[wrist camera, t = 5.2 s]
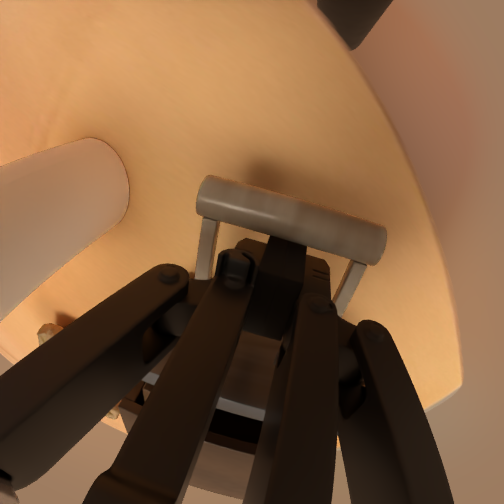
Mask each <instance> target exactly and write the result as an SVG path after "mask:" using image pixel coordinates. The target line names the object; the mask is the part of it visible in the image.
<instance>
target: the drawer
mask: <svg viewBox="0 0 504 504" xmlns="http://www.w3.org/2000/svg"><path fill="white" fill-rule="evenodd" d="M196 212H197V214H198V215H200V216H203V220H202V227H201V234H200V240H199V248H198V255H197V262H196V270H195V278H194V279H198V280H207V279H210V278H211V272H212V266H213V260H214V254H215V249H216V243H217V237H218V232H219V226H220V221H221V222H225V223H229V224H232V225H236V226H239V227H243V228H246V229H250V230H253V231H257V232H260V233H264V234H267V235H270V236H274V237H277V238H281V239H284V240H288V241H291V242H294V243H298V244H301V245H304V246H308V247H311V248H314V249H318V250H321V251H324V252H328V253H331V254H334V255H338V256H341V257H344V258H347V259H351V260H350V262H349V264H348V267H347V269H346V271H345V273H344V276H343V278H342V280H341V282H340V284H339V287H338V289H337V291H336V293H335V295H334V297H333V299H332V302H333V303H334V304H335V305H336V308H337V315H338V316H340V317H342V315H343V313H344V312H345V310H346V308H347V306H348V304H349V302H350V300H351V298H352V296H353V294H354V292H355V290H356V288H357V286H358V284H359V282H360V280H361V278H362V276H363V274H364V271H365V269H366V267H367V265H370V266H375V265H376V264H377V263H378V262H379V261H380V259H381V257H382V255H383V253H384V250H385V246H386V241H387V230H386V228H385V227H384V226H382V225H379V224H376V223H373V222H371V221H368V220H365V219H362V218H359V217H356V216H353V215H350V214H347V213H344V212H340V211H337V210H334V209H331V208H328V207H325V206H321V205H318V204H315V203H312V202H308V201H305V200H302V199H298V198H295V197H291V196H288V195H285V194H281V193H278V192H274V191H270V190H267V189H263V188H259V187H256V186H252V185H248V184H244V183H241V182H237V181H233V180H229V179H225V178H221V177H217V176H213V175H208V176H206V177H205V179H204V180H203V182H202V184H201V186H200V189H199V192H198V195H197V200H196ZM366 264H367V265H366ZM282 340H283V337H282V339H281V341H277V340H274V339H270V338H267V337H263V336H260V335H256V334H253V333H249V332H246V331H243V330H242V332H241V335H240V339H239V342H238V345H237V348H236V351H235V354H234V357H233V360H232V363H231V366H230V369H229V372H228V375H227V377H226V380H225V383H224V386H223V389H222V392H221V395H220V398H219V401H218V403H217V406H216V409H215V412H214V415H213V418H212V421H211V423H210V426H209V429H208V431H210V432H213V433H216V434H220V435H223V436H226V437H230V438H233V439H237V440H241V441H245V442H248V443H252V444H257V445H258V441H259V437H260V433H261V428H262V424H263V420H264V415H265V411H266V406H267V402H268V397H269V393H270V388H271V383H272V378H273V374H274V369H275V365H273V362H274V359H275V357H276V355H277V353H278V350H279V348H280V346H281V343H282ZM174 348H175V347H174ZM174 348H173V349H174ZM173 349H172V350H171V351H170V352H169V353H168V354H167V355H166V356H165V357H164V358H163V359H162V360H161V361H160V362H159V363H158V364H157V365H156V366H155V367H154V368H153V369H152V370H151V371H150V372H149V373H148V374H147V375H146V376H145V377H144V378H143V379H142V380H143V381H145V382H146V383H145V385H144V387H143V395H144V401H146V399H147V398H148V396H149V394H150V392H151V390H152V388H153V386H154V384H155V383H156V381H157V379H158V377H159V375H160V373H161V371H162V370H163V368H164V366H165V364H166V362H167V360H168V359H169V357H170V355H171V353H172V351H173ZM337 435H338V432H337Z"/></svg>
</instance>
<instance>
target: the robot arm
mask: <svg viewBox="0 0 504 504" xmlns="http://www.w3.org/2000/svg"><path fill="white" fill-rule="evenodd" d="M306 252H307V246H304V245H301V244H298V243H294V242H291V241H288V240H284V239H281V238H277V237H274V236H270V237H269V240H268V243H267V244H266V243H262V242H259V241H255V240H252V239H248V238H245V239H243V240H241V241H239V242H238V243H237V245H236V247H235V249H227V250H223V251H222V252H220V253H219V254H218V260H217V266H216V271H215V276H214V278H212V279H207V280H198V279H189V273H188V272H187V270H185V269H184V268H183V267H181V266H178V265H175V264H160V265H157V266H155V267H153V268H152V269H150V270H149V271H147V272H145V273H144V274H142V275H141V276H139V277H138V278H136V279H135V280H133V281H132V282H130V283H129V284H127V285H126V286H124V287H123V288H121V289H120V290H118V291H117V292H115V293H114V294H113V295H111V296H110V297H108V298H107V299H105V300H104V301H102V302H101V303H99V304H98V305H96V306H95V307H94V308H92V309H91V310H89V311H88V312H86V313H85V314H84V315H82V316H81V317H79V318H78V319H76V320H75V321H74V322H72V323H71V324H69V325H68V326H67V327H65V328H64V329H62V330H61V331H60V332H58V333H57V334H55V335H54V336H53V337H51V338H50V339H49V340H47V341H46V342H45V343H43V344H42V345H40V346H39V347H38V348H36V349H35V350H34V351H32V352H31V353H30V354H28V355H27V356H26V357H24V358H23V359H22V360H20V361H19V362H18V363H16V364H15V365H14V366H13V367H11V368H10V369H9V370H7V371H6V372H5V373H4V374H2V375H1V376H0V504H19V499H18V497H17V495H16V494H15V491H16V490H19V489H22V488H24V487H26V486H28V485H30V484H31V483H33V482H35V481H36V480H38V479H39V478H40V477H41V476H42V475H44V474H45V473H46V472H47V471H48V470H49V469H50V468H51V467H53V466H54V465H55V464H56V463H57V462H58V461H59V460H60V459H61V458H62V457H63V456H64V455H65V454H66V453H67V452H68V451H69V450H70V449H71V448H72V447H73V446H74V445H75V444H76V443H77V442H79V440H81V439H82V438H83V437H84V436H85V435H86V434H87V433H88V432H89V431H90V430H91V429H92V428H93V427H94V426H95V425H96V424H97V423H98V422H99V421H100V420H101V419H102V418H103V417H104V416H105V415H106V414H107V413H108V412H109V411H110V410H111V409H113V408H114V407H115V406H116V405H117V404H118V403H119V402H120V401H121V400H122V399H123V398H124V397H125V396H126V395H127V394H128V393H129V392H130V391H131V390H132V389H133V388H134V387H135V386H136V385H137V384H138V383H139V382H140V381H141V380H142V379H143V378H144V377H145V376H146V375H147V374H148V373H149V372H150V371H151V370H152V369H153V368H154V367H155V366H156V365H157V364H158V363H159V362H160V361H161V360H162V359H163V358H164V357H165V356H166V355H167V354H168V353H169V352H170V351H171V350H172V349H173V348H174V347H175V348H174V349H173V351H172V353H171V355H170V357H169V359H168V360H167V362H166V364H165V366H164V368H163V370H162V371H161V373H160V375H159V377H158V379H157V381H156V383H155V384H154V386H153V388H152V390H151V392H150V394H149V396H148V398H147V399H146V401H145V403H144V405H143V407H142V409H141V411H140V413H139V415H138V416H137V418H136V420H135V422H134V424H133V426H132V428H131V430H130V432H129V434H128V436H127V438H126V439H125V441H124V444H123V445H122V447H121V449H120V451H119V453H118V455H117V457H116V459H115V461H114V463H113V464H112V466H111V467H110V468H109V469H108V470H107V471H105V472H103V473H102V474H100V475H99V476H98V477H97V479H96V480H95V481H94V483H93V484H92V486H91V488H90V490H89V491H88V493H87V495H86V497H85V499H84V501H83V503H82V504H182V501H183V498H184V496H185V493H186V490H187V487H188V485H189V482H190V479H191V477H192V474H193V471H194V468H195V465H196V463H197V460H198V457H199V454H200V452H201V449H202V446H203V443H204V440H205V438H206V435H207V432H208V429H209V426H210V423H211V421H212V418H213V415H214V412H215V409H216V406H217V403H218V401H219V398H220V395H221V392H222V389H223V386H224V383H225V380H226V377H227V375H228V372H229V369H230V366H231V363H232V360H233V357H234V354H235V351H236V348H237V345H238V342H239V339H240V335H241V332H242V330H243V331H246V332H249V333H253V334H256V335H260V336H263V337H267V338H270V339H274V340H277V341H281V339H282V337H283V340H282V343H281V346H280V348H279V350H278V353H277V355H276V357H275V359H274V362H273V365H275V369H274V374H273V378H272V383H271V388H270V393H269V397H268V402H267V406H266V411H265V415H264V420H263V424H262V428H261V433H260V437H259V441H258V445H257V449H256V453H255V457H254V461H253V465H252V469H251V473H250V477H249V481H248V485H247V489H246V492H245V496H244V500H243V504H331V501H332V492H333V483H334V472H335V459H336V445H337V432H338V437H339V441H340V446H341V451H342V456H343V461H344V466H345V472H346V477H347V482H348V488H349V494H350V499H351V504H454V501H453V497H452V494H451V490H450V486H449V483H448V479H447V476H446V473H445V470H444V466H443V463H442V460H441V457H440V454H439V451H438V448H437V445H436V442H435V440H434V437H433V434H432V431H431V428H430V426H429V423H428V420H427V418H426V415H425V413H424V410H423V407H422V405H421V402H420V400H419V397H418V395H417V393H416V390H415V388H414V385H413V383H412V381H411V378H410V376H409V374H408V371H407V369H406V367H405V365H404V362H403V360H402V358H401V356H400V354H399V351H398V349H397V347H396V345H395V343H394V341H393V339H392V336H391V334H390V333H389V331H388V330H387V329H386V328H385V327H384V326H383V325H381V324H380V323H378V322H376V321H372V320H362V321H361V322H359V323H358V325H357V326H355V325H353V324H351V323H349V322H347V321H345V320H344V319H342V318H341V317H340V316H338V315H337V308H336V305H335V304H334V303H333V302H332V300H331V289H330V267H329V266H328V264H327V263H326V261H325V260H323V259H320V258H317V257H313V256H310V255H306Z"/></svg>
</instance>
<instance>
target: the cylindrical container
mask: <svg viewBox="0 0 504 504" xmlns="http://www.w3.org/2000/svg"><path fill="white" fill-rule="evenodd" d="M128 202H129V183H128V177H127V174H126V171H125V168H124V166H123V163H122V161H121V159H120V158H119V156H118V155H117V154H116V152H115V151H114V150H113V149H112V148H111V147H110V146H109V145H108V144H106V143H105V142H103V141H101V140H98V139H95V138H86V139H81V140H77V141H74V142H70V143H67V144H63V145H60V146H57V147H53V148H50V149H47V150H44V151H41V152H38V153H35V154H32V155H30V156H27V157H24V158H21V159H19V160H16V161H13V162H11V163H8V164H6V165H3V166H1V167H0V322H1V321H2V320H3V319H4V318H5V317H6V316H7V315H8V314H9V313H10V312H11V311H12V310H14V309H15V308H16V307H17V306H18V305H19V304H20V303H21V302H22V301H23V300H24V299H25V298H26V297H28V296H29V295H30V294H31V293H32V292H33V291H34V290H35V289H37V288H38V287H39V286H40V285H41V284H42V283H43V282H45V281H46V280H47V279H48V278H49V277H50V276H52V275H53V274H54V273H55V272H56V271H58V270H59V269H60V268H61V267H62V266H64V265H65V264H66V263H67V262H69V261H70V260H71V259H72V258H74V257H75V256H76V255H77V254H79V253H80V252H81V251H83V250H84V249H85V248H86V247H88V246H89V245H90V244H92V243H93V242H94V241H96V240H97V239H98V238H100V237H101V236H102V235H104V234H105V233H106V232H108V231H109V230H110V229H112V228H113V227H115V226H116V225H117V224H118V223H119V222H120V221H121V220H122V218H123V217H124V215H125V213H126V210H127V207H128Z"/></svg>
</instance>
